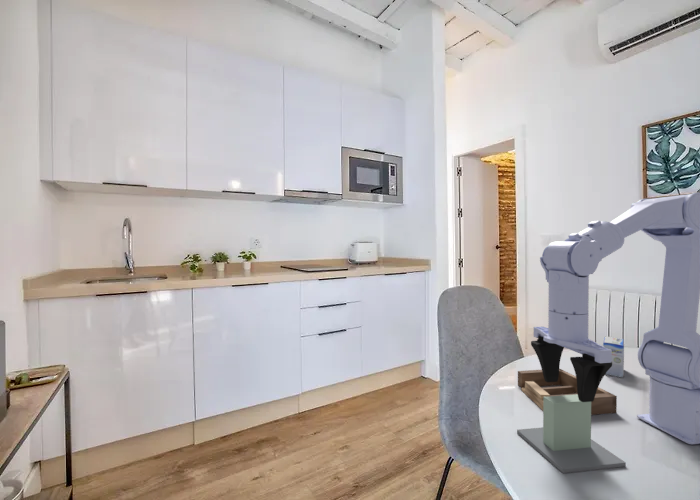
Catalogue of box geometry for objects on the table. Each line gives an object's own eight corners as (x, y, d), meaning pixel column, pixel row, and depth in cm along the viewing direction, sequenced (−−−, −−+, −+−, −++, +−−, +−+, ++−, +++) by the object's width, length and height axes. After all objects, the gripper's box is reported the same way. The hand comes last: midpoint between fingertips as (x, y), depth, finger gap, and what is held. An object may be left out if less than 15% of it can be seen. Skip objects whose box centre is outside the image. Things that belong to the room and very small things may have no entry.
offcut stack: (558, 415, 69) (558, 401, 69) (546, 415, 69) (546, 400, 69) (531, 391, 80) (531, 379, 80) (521, 391, 80) (521, 379, 80)
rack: (616, 412, 69) (616, 396, 69) (566, 417, 67) (566, 399, 67) (559, 382, 84) (559, 368, 84) (517, 385, 83) (517, 371, 83)
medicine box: (603, 365, 96) (604, 335, 96) (623, 369, 93) (624, 338, 93) (602, 374, 90) (602, 342, 89) (623, 378, 87) (624, 345, 87)
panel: (590, 447, 56) (591, 400, 56) (553, 450, 55) (553, 403, 55) (579, 439, 59) (579, 394, 59) (543, 442, 58) (543, 396, 58)
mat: (625, 466, 52) (625, 462, 52) (562, 473, 51) (562, 469, 51) (570, 428, 63) (570, 425, 63) (517, 432, 62) (517, 429, 62)
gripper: (519, 304, 63) (518, 375, 64) (582, 322, 49) (581, 413, 49) (552, 303, 64) (552, 373, 64) (624, 320, 50) (623, 409, 50)
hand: (567, 390), depth 57 cm, fingers open, 7 cm apart
